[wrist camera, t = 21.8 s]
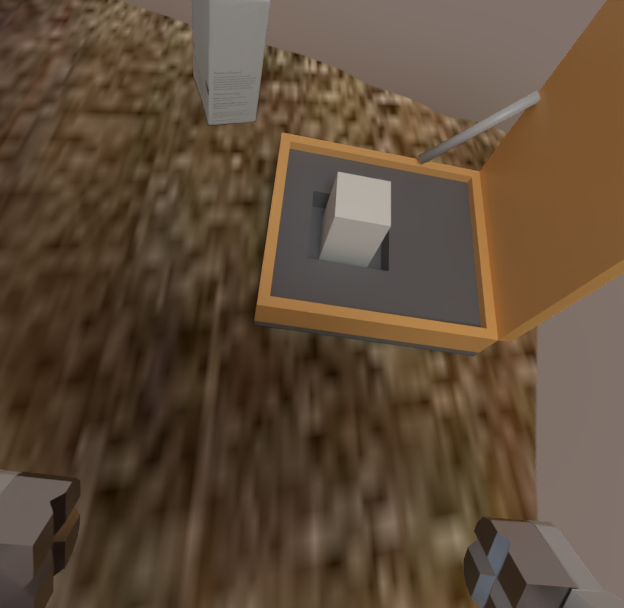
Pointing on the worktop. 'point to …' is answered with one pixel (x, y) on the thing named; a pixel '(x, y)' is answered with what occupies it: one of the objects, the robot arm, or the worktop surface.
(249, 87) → the skincare box
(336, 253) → the plate
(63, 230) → the worktop surface
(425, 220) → the equipment case
